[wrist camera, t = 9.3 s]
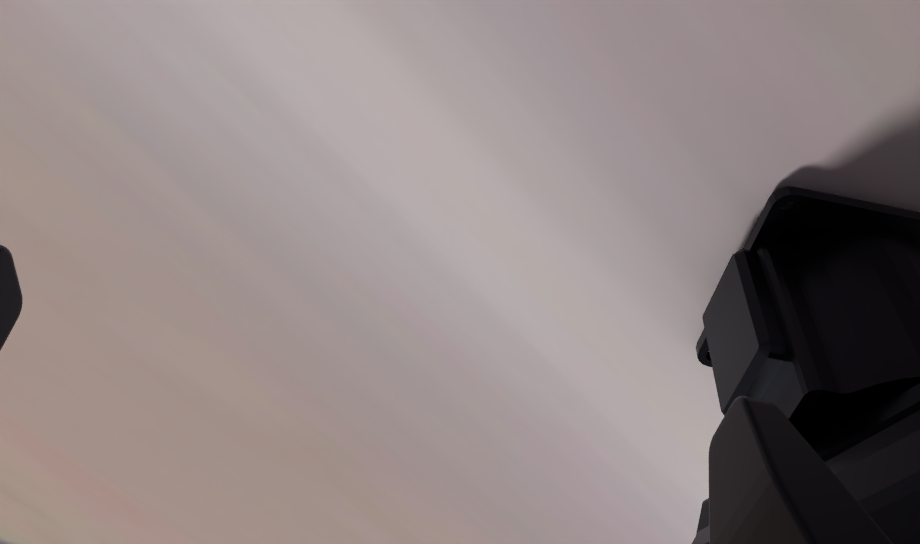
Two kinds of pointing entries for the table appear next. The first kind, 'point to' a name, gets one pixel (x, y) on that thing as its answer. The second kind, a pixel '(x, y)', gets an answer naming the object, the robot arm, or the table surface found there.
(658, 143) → the table surface
